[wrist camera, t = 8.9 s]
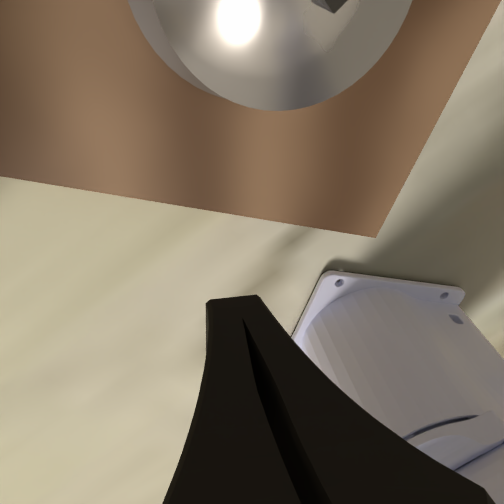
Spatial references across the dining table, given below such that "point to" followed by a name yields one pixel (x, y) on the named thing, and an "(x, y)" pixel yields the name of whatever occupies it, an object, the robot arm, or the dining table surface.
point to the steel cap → (280, 45)
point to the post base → (218, 116)
